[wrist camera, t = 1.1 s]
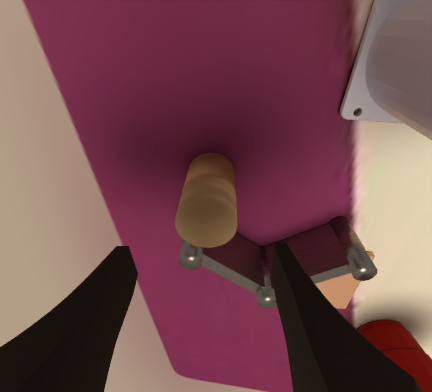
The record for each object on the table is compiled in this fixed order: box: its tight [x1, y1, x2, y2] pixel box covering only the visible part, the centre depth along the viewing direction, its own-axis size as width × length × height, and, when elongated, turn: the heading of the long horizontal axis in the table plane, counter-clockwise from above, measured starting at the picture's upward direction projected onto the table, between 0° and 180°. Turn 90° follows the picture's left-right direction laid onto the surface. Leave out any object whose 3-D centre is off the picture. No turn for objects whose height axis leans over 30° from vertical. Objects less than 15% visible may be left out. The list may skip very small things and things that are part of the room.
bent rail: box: [179, 217, 377, 308], centre depth 22 cm, size 14×6×5 cm, turn 87°
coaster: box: [315, 252, 375, 309], centre depth 26 cm, size 8×8×1 cm
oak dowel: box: [175, 152, 237, 248], centre depth 18 cm, size 4×4×6 cm
